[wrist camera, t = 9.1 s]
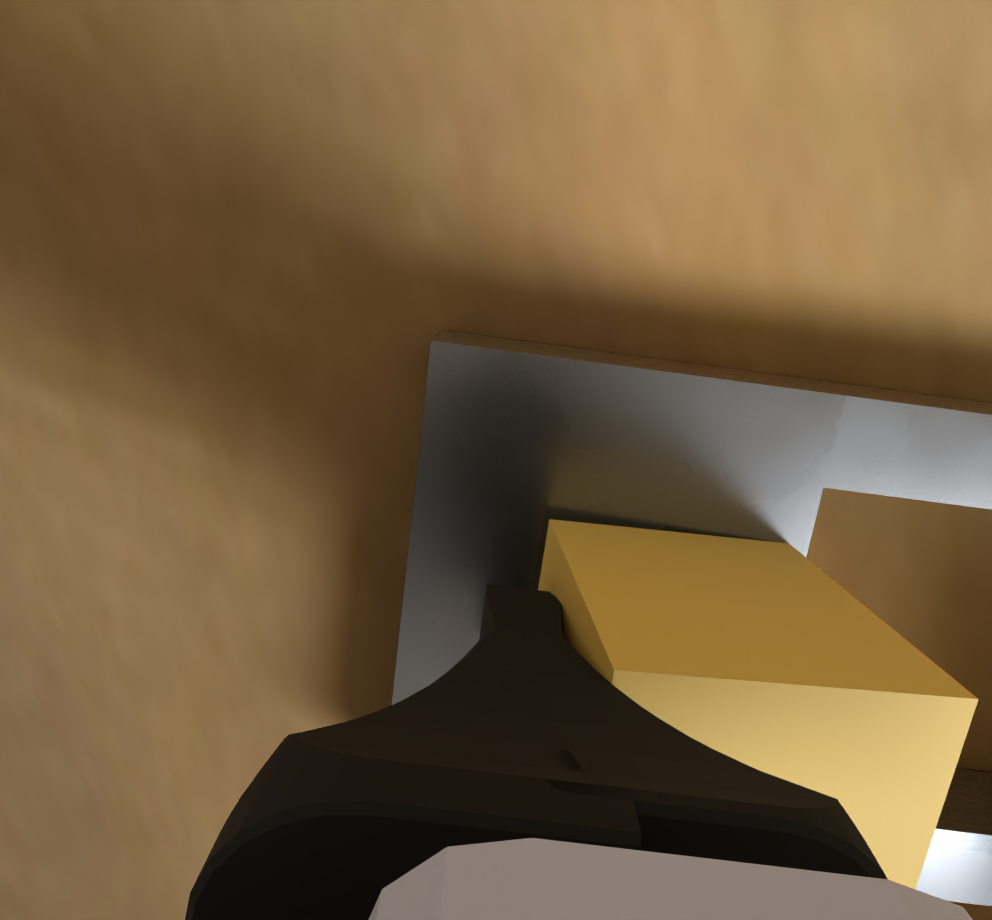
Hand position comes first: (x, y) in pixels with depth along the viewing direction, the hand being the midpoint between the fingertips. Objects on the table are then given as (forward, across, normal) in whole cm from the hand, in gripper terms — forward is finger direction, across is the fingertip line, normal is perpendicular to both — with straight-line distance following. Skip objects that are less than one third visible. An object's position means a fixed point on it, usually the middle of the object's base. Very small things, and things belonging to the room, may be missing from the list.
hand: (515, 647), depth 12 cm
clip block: (+1, -2, 0) cm, 3 cm away
